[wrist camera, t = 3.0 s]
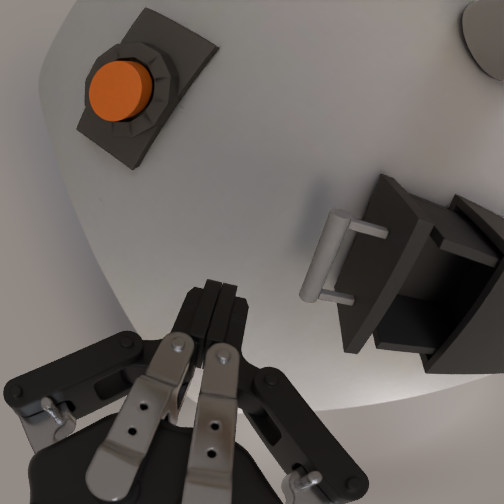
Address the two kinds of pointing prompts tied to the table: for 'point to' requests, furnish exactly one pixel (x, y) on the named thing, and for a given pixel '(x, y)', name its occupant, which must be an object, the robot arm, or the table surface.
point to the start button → (120, 90)
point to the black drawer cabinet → (476, 312)
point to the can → (486, 35)
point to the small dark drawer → (402, 271)
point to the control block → (163, 83)
